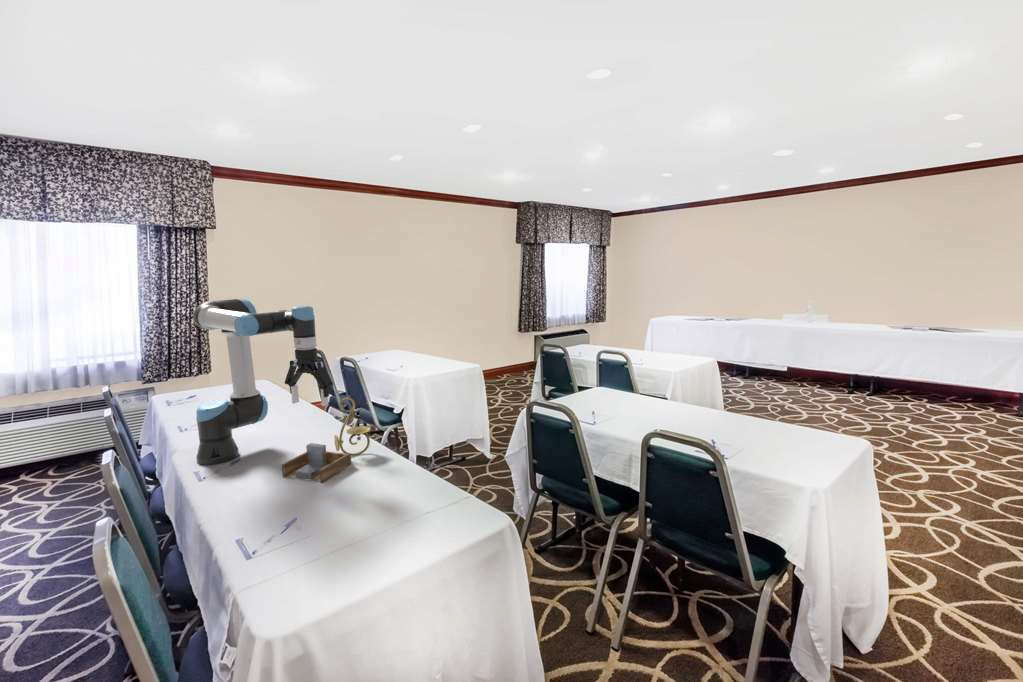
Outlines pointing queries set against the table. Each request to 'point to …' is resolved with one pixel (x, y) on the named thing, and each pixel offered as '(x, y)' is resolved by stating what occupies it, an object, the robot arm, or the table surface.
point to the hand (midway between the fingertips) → (310, 404)
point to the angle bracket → (313, 461)
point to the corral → (334, 467)
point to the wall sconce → (351, 432)
